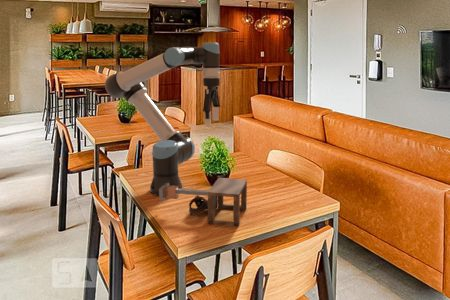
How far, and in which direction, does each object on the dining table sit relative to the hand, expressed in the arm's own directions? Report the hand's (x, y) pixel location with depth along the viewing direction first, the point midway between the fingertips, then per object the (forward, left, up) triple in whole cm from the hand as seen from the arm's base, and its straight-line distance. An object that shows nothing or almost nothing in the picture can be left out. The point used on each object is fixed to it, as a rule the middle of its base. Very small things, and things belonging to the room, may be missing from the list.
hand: (211, 123), depth 197 cm
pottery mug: (+3, -32, -32) cm, 45 cm away
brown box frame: (-2, -33, -31) cm, 45 cm away
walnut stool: (+15, -33, -32) cm, 48 cm away
